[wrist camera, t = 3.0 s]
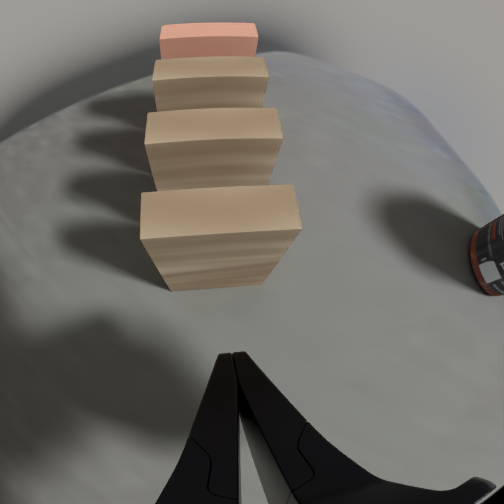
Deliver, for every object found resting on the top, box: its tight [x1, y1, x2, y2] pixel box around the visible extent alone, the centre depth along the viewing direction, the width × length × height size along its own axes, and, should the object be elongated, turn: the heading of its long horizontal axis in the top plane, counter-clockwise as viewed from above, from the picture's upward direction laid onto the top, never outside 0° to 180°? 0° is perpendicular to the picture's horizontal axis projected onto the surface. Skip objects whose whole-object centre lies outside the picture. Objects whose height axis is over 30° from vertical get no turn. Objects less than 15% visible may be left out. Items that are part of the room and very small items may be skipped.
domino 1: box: [140, 185, 302, 291], centre depth 13 cm, size 2×5×8 cm, turn 97°
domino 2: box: [144, 108, 283, 191], centre depth 14 cm, size 2×5×8 cm, turn 97°
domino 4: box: [160, 23, 258, 60], centre depth 17 cm, size 2×5×8 cm, turn 96°
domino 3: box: [152, 56, 269, 112], centre depth 16 cm, size 2×5×8 cm, turn 97°
